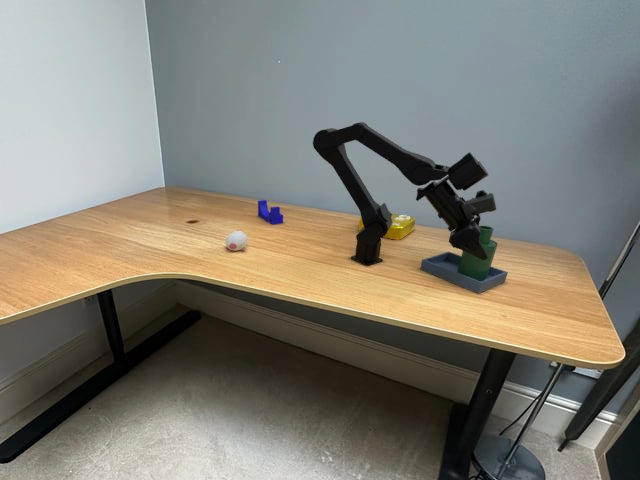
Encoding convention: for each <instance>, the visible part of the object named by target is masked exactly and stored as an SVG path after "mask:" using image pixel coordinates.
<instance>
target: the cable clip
mask: <svg viewBox="0 0 640 480" xmlns="http://www.w3.org/2000/svg"><path fill="white" fill-rule="evenodd" d="M257 217H258V218H260V219H262V220H264V221H265V222H267V223H269V224H270V225H273V226H274V225H281V224H284V214H282V213H281V207H280V206H271V207H270V210H269V208H268V201H267V200H266V199H260V200H257Z"/></svg>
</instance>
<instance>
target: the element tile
mask: <svg viewBox="0 0 640 480" xmlns="http://www.w3.org/2000/svg"><path fill="white" fill-rule="evenodd" d="M390 213H391V214H392V216H391V218H392V225H391V228H390V229H389V231H388V232H387V234H386V235H385V236H384V237H383V238H384V239H390V240H394V241H398V240H399V241H400V240H402V239H403V238H405V237H406V236H407V235H409V234H410V233H411V232H413V230H415V229H414V228H415V224H416V218H415V217H414V216H410V215H405V214H399V213H394V212H390ZM363 227H364V225H363V223H362V218H361V217H360V219H359V224H358V232H360V230H361V229H362V228H363Z"/></svg>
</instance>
